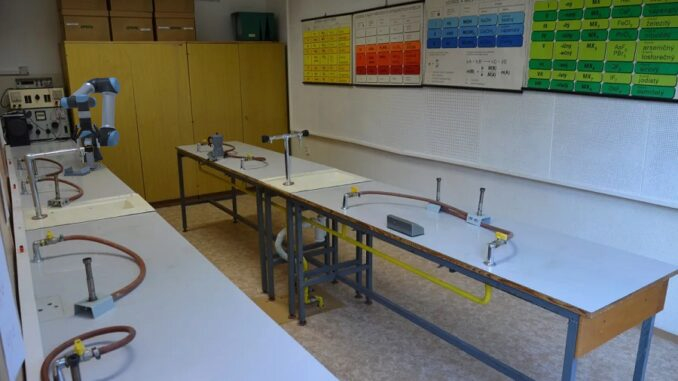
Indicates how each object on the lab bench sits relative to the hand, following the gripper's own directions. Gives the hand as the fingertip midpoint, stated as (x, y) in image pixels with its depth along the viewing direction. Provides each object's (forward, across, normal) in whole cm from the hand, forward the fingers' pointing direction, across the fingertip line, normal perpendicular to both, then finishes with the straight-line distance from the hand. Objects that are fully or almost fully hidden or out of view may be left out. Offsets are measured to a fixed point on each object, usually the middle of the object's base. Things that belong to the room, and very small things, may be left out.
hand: (89, 147), depth 347 cm
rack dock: (+15, 0, -20) cm, 25 cm away
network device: (+15, 0, 0) cm, 15 cm away
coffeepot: (+14, +80, +40) cm, 90 cm away
